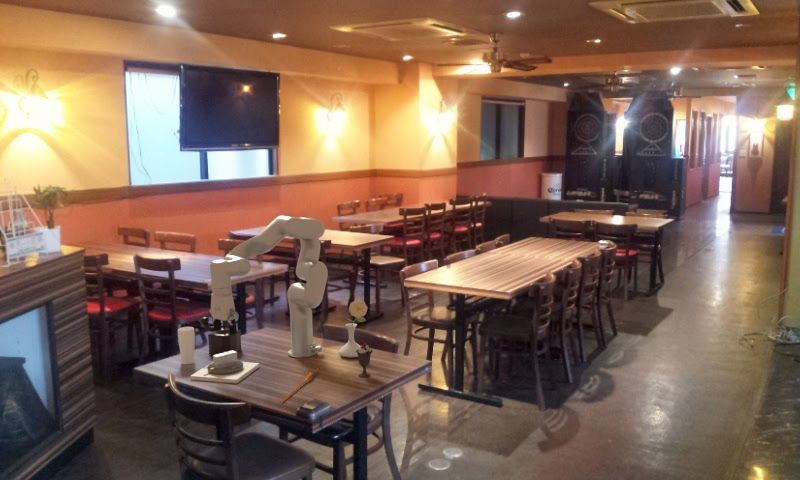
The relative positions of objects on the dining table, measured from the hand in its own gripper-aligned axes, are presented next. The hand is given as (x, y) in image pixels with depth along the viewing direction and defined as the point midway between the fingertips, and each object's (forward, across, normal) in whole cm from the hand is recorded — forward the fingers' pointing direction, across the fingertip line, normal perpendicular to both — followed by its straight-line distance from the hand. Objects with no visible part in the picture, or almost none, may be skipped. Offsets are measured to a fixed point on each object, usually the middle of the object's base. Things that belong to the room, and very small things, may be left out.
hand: (225, 332), depth 275 cm
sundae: (+18, +47, +30) cm, 59 cm away
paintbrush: (+18, +36, +6) cm, 41 cm away
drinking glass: (+17, -24, -3) cm, 29 cm away
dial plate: (+17, 0, -1) cm, 17 cm away
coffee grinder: (+18, -22, +13) cm, 31 cm away
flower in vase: (+19, +27, +46) cm, 56 cm away
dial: (+15, 0, -1) cm, 15 cm away
